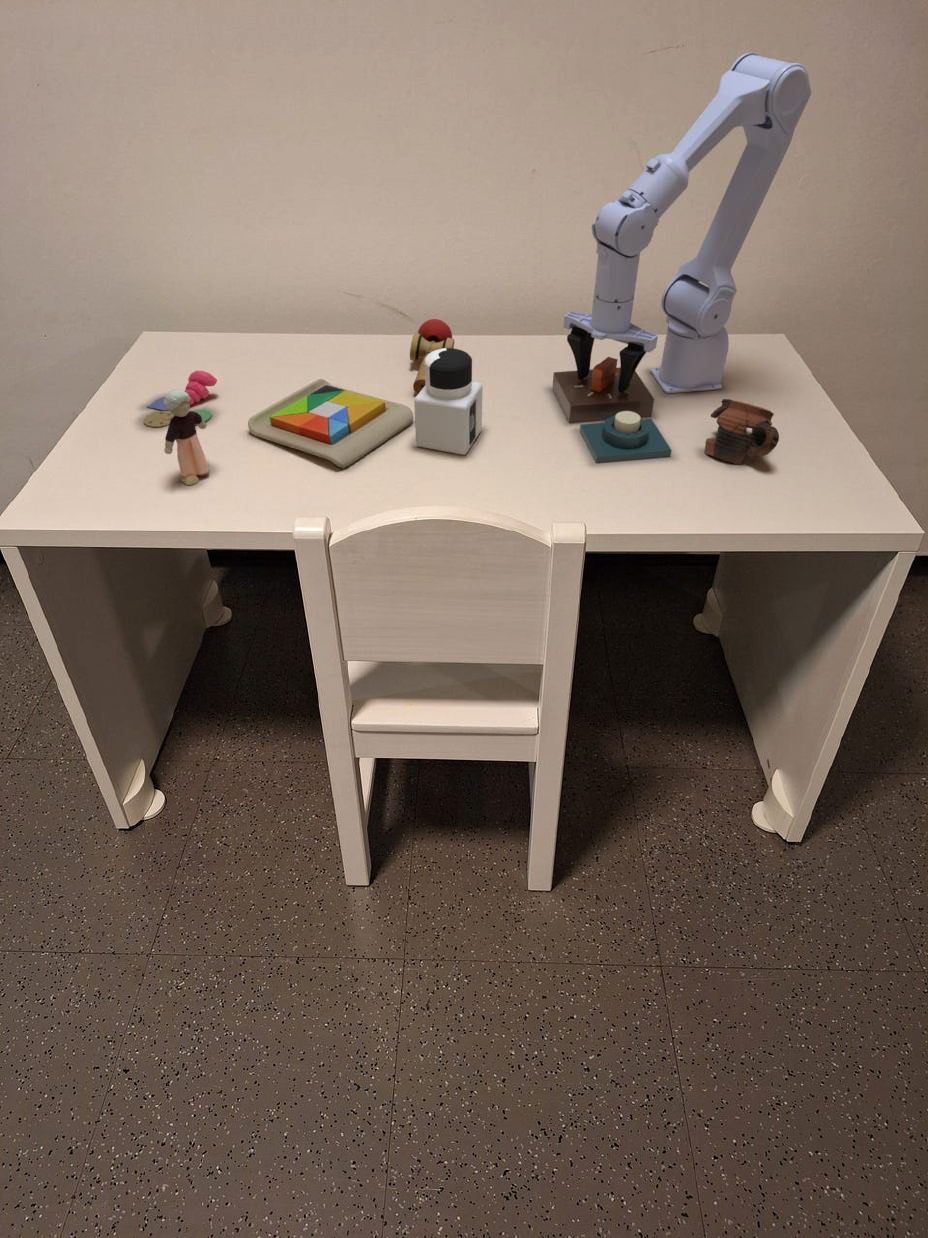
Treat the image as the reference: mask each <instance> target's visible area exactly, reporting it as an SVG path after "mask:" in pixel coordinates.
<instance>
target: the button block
mask: <svg viewBox="0 0 928 1238" xmlns="http://www.w3.org/2000/svg"><path fill="white" fill-rule="evenodd" d="M615 416H616V415H615ZM615 416H612V417H610V418H608V419H606V420H604V422H595V423H582V424H580V425H579V433H580V435H581V437H582V439H583V440H584V442H585V444H586V446H587V449H588V451H589V453H590V455H591V456H592V458H593V461H594V463H595V464H602V463H603V464H604V463H614V462H627V461H637V460H638V461H639V460H650V459H659V458H660V459H663V458H670V457H671V455H672V449H671V447H670V445H669V443H668V442H667V441H666V439H665V438H664V436H663V435H662V433H661V431H660V430H659V428H658V426H657V425H656V424H655V422H654V420H653V419H652V418H644V419H643V418H641V420H640V426H639V430H638V432H636V433H630V434H626V433H621V432H618V431H616V430H615V429H614V422H615Z"/></svg>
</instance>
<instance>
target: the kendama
mask: <svg viewBox="0 0 928 1238" xmlns="http://www.w3.org/2000/svg"><path fill="white" fill-rule="evenodd" d="M454 347H455V338H453V332H452V329H451V328H450V326H449V325H448V324H447V323H446V322H445V321H443V320H442V319H438V318H431V319H428V320H426V321H424V322H423V323H422V324H421V325H420V326H419V328H418V330H417V333H413V335H412V338H411V343H410V348H409V360H410V361H413V362H416V361H418V360H421V359H422V361H421V363H420V365H419V369H418V371H417V375H416V377H415V379H414V382H413V384H412V385H413V386H412V388H413V391H414V392H415V393H416V394H417V395H418V394H419V393H420V391H421V390H422V389H423V388H424V386H425V358H426V357H427V355H428V354H429V353H431V352H433V351H435V350H438V349H443V348H454ZM454 349H455V348H454Z"/></svg>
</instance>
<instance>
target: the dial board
mask: <svg viewBox="0 0 928 1238" xmlns="http://www.w3.org/2000/svg"><path fill="white" fill-rule="evenodd" d="M620 368H621V366H620V367H616V374H615V381H613V382H612V383H611V384H610V385H608V386H607V387H606V388H604V389H603V390H602V391H601V392H597V391H594V390H591V382H592V374H593V368H592V369H590V370H589V374H588V376H586V377H585V378H584V379H582V380H581V379H578V373H577V370H565V371H553V373H552V374H553V376H552V387H551V390H552V391H553V393H554V395H555V397H556V400H557V402H558V404H559V406H560V408H561V410H562V412H563V414H564V416H565V418H566V420H567V422H568V423H569V424H574V423H586V422H587V423H588V422H600V421H605V420H606V419H608V418H610V417H612V416H615V415H616V414H617V413H619V412H622V411H631V412H634V413H637V414H638V415H639V416H640V417H641V418H648V417H649V418H651V417H652V414H653V410H654V409H653V408H654V403H655V398H654V397H653V395H652V394H651V392H650V391H649V389H648V388H647V386H646V384H645V383H644V382H643V380H642V379H641V377H640V375H639V374H638V373H637V371H636V370H635V372H634V374H633V376H632V379H631V381H630V384H629V387H628V389H626V390H625V391H624V392H623V393H622V392H618V384H619V378H620Z"/></svg>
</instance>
